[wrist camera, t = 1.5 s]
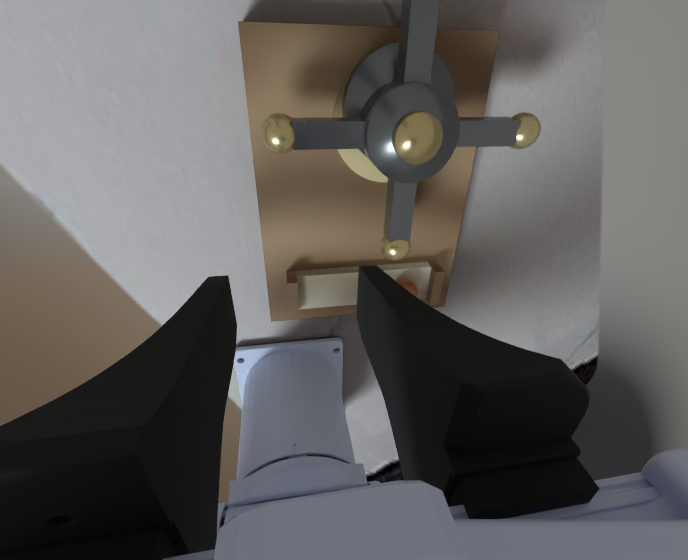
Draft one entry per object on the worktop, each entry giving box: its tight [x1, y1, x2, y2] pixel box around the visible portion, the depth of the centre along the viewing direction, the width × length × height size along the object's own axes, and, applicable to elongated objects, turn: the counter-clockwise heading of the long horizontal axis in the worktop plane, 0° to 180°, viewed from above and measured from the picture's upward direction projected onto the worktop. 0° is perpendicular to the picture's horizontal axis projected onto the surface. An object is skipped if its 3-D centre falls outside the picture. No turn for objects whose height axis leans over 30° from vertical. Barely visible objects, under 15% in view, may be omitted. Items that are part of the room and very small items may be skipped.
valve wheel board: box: [238, 21, 500, 322], centre depth 20 cm, size 16×12×4 cm
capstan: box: [261, 0, 541, 260], centre depth 16 cm, size 13×13×4 cm
